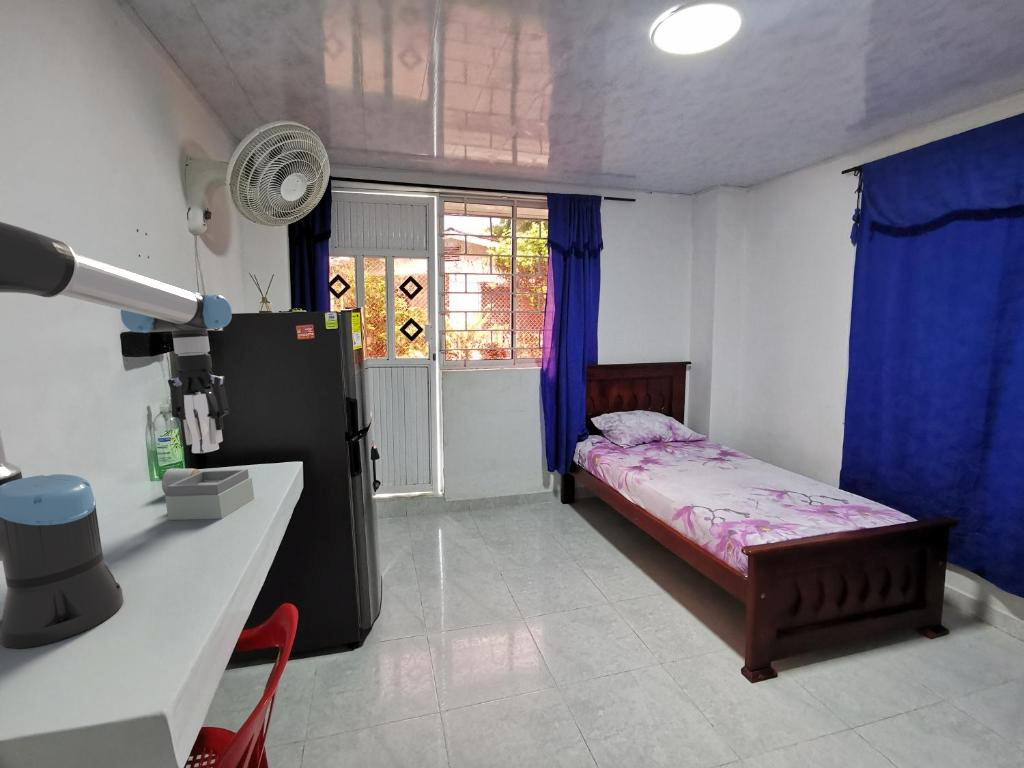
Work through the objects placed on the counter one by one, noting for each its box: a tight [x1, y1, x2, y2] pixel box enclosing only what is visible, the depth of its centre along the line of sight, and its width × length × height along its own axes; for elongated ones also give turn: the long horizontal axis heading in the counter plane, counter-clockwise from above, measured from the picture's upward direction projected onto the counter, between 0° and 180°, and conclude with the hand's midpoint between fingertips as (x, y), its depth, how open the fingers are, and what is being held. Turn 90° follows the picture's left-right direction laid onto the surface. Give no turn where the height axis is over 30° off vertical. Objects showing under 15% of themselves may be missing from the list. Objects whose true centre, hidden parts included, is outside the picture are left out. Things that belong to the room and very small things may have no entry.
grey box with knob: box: [164, 468, 255, 521], centre depth 130 cm, size 14×17×8 cm
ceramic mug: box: [161, 468, 202, 496], centre depth 146 cm, size 11×8×8 cm
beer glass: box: [182, 391, 220, 454], centre depth 128 cm, size 7×7×15 cm
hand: (204, 442), depth 129 cm, fingers closed on beer glass, 6 cm apart
